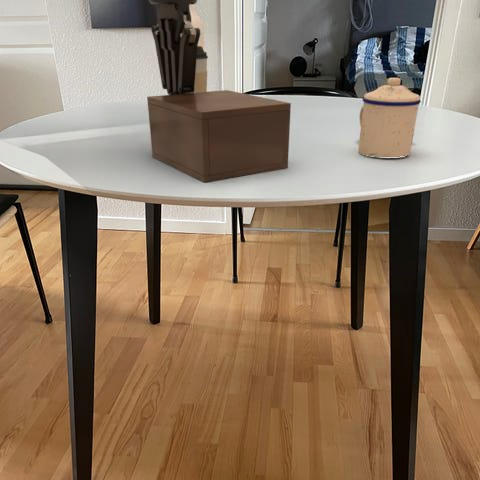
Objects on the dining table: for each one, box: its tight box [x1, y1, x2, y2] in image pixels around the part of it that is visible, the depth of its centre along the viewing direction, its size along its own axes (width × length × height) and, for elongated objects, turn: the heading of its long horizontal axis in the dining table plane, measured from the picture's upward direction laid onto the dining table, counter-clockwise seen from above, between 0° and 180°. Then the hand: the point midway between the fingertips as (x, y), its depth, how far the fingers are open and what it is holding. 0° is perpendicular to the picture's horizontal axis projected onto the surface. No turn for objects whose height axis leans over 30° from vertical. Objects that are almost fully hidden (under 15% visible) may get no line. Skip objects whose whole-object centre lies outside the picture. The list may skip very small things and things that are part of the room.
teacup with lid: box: [357, 77, 422, 157], centre depth 83 cm, size 12×9×12 cm
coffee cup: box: [193, 46, 209, 93], centre depth 108 cm, size 9×9×15 cm
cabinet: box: [146, 89, 292, 183], centre depth 78 cm, size 18×15×9 cm
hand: (180, 135), depth 89 cm, fingers closed
